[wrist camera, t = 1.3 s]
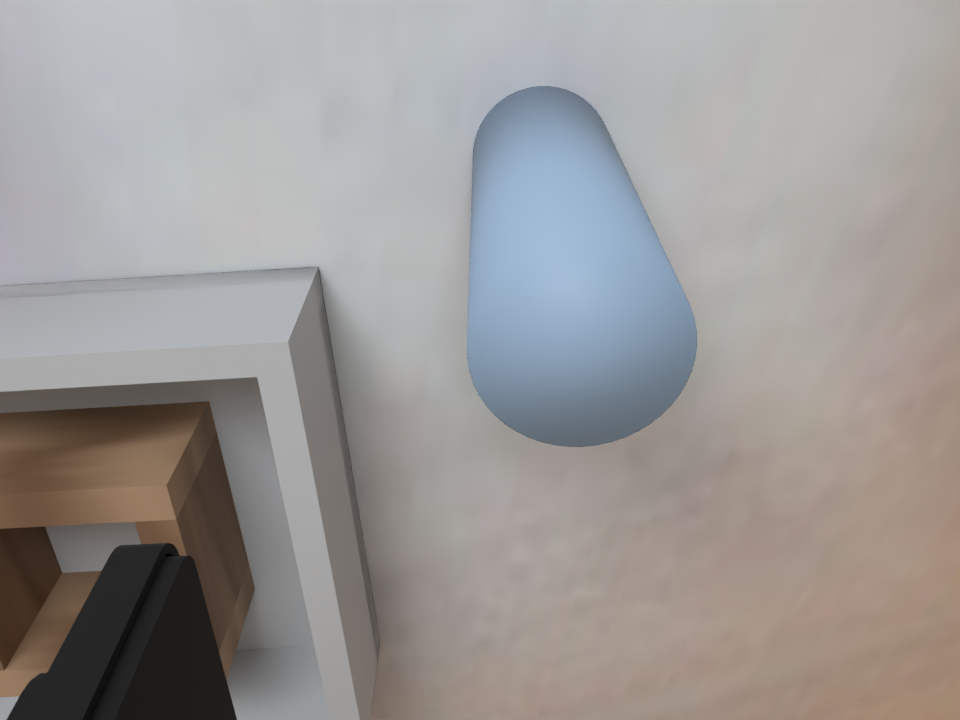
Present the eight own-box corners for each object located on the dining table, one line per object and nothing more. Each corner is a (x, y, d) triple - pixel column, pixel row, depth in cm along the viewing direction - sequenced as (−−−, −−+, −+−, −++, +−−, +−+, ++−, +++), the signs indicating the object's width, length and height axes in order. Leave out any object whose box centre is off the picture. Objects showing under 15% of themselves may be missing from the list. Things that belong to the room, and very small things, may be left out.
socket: (208, 401, 29) (166, 485, 25) (255, 588, 33) (224, 687, 29) (-35, 415, 29) (-114, 500, 25) (39, 599, 33) (-20, 698, 29)
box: (318, 266, 28) (288, 341, 24) (380, 642, 36) (365, 751, 31) (-186, 297, 28) (-308, 376, 24) (-19, 661, 36) (-87, 771, 32)
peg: (610, 81, 25) (703, 236, 15) (610, 217, 27) (691, 440, 17) (468, 91, 25) (458, 251, 15) (477, 225, 27) (475, 452, 17)
